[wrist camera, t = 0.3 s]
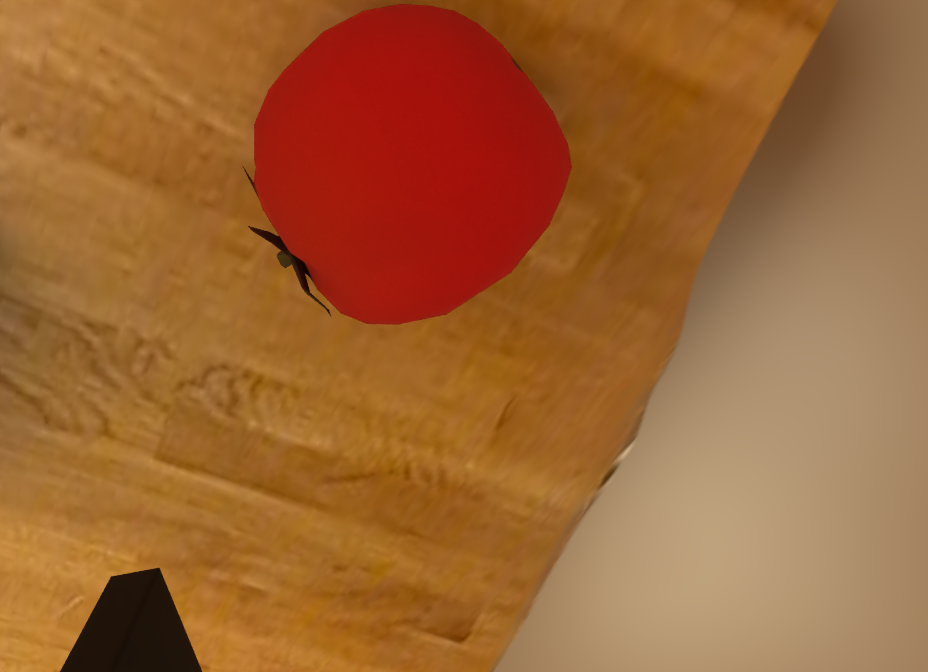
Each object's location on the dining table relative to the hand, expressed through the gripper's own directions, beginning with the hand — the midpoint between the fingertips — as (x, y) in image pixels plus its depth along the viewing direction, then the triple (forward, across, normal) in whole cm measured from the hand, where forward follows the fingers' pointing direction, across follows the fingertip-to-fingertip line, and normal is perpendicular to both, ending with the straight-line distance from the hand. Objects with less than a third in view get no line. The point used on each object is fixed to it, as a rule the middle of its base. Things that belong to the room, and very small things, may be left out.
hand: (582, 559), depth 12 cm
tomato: (+29, -3, +2) cm, 29 cm away
